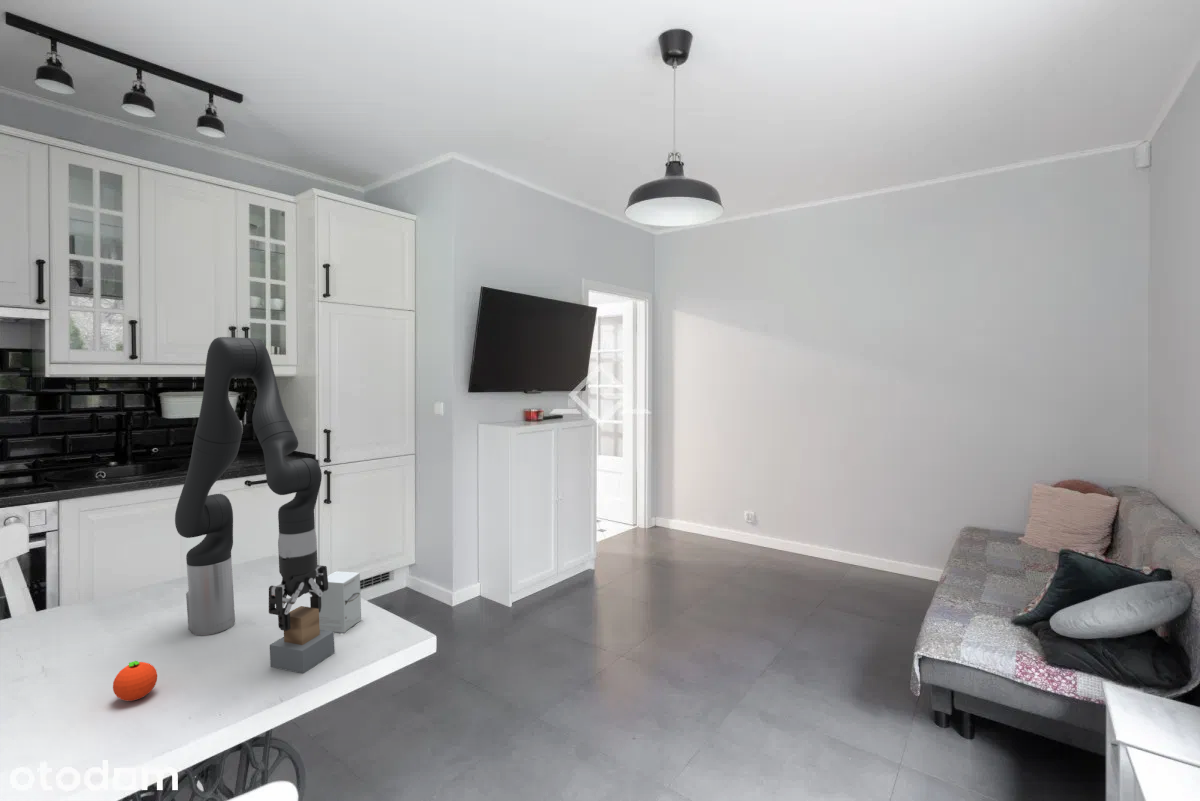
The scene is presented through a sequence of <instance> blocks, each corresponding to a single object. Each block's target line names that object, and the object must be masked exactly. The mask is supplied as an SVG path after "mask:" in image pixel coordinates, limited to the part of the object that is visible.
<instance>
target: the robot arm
mask: <svg viewBox="0 0 1200 801" xmlns="http://www.w3.org/2000/svg"><path fill="white" fill-rule="evenodd" d="M205 360H206V361H205V369H204V370H205V371H204V381H203V382H204V383H203V390H202V391H203V394H202V399H201V406H200V411H199V415H198V416H199V417H198V420H197V425H196V428H195V432H194V436H193V437H194V438H193V444H192V447H191V448H192V449H191V457H190V459H189V465H188V469H187V474H186V477H185V481H184V484H183V487H182V490H181V492H180V495H179V499H178V501H177V505H176V509H175V514H174V525H175V529H176V531H177V533H178V534H179V535H180V537H183V538H186V539H187V538H188V539H191V538H196V537H197V538H198V537H201V536H205V537H203V539H202V540H201V541H200V542H198V543H197V544H196V545H195V546H193V547H192V548H190V549H189V550H188V551H187V553H186V558H185V559H186V560H185V561H186V575H187V586H188V588H187V590H188V591H186V593H185V598H186V614H187V627H188V629H187V630H189V631H190V632H191V634H192V635H195V636H209V635H213V634H218V633H220V632H223V631H225V630H228V629H230V628H231V627H233V626H234V625H235V624H236V615H235V611H236V610H235V598H234V597H235V596H234V595H235V592H234V579H233V578H234V577H233V575H234V574H233V564H232V563H233V562H232V559H233V558H232V551H233V550H232V549H233V545H234V512H233V511H234V510H233V506H232V503H231V501H230V499H229V498H228V497H227V496H226V495H225V494H223V493H214V494H210V495H209V493H210V491H211V489H212V487H213V486H214V484H215V483H216V482H217V481H218V480H219V478H220V477H221V476H222V475H223V474H224V473H225V472H226V471H227V470H228V468H230V466H231V465H232V463H233V462H234V461H235V459H236V458H237V456H238V453H239V450H240V446H241V442H242V437H243V424H242V422H241V420H240V417H239V416H238V415H237V413H236V411H235V409H234V408H233V406H232V404H231V401H230V398H229V393H230V392H229V391H230V389H229V388H230V384H231V380H232V379H241V378H242V379H247V378H248V379H249V378H250V379H251V380H252V381H253V383H254V385H255V387H256V392H257V396H256V399H255V400H256V401H255V405H254V408H253V413H252V417H251V418H252V419H251V420H252V427H253V430H254V431H253V432H254V433H255V435H256V439H258V442H259V445H260V447H261V449H262V453H263V457H264V458H263V459H264V466H265V478H266V483H267V486H268V488H269V489H270V491H272V492H273V493H275V494H276V495H279V496H286V495H291V494H294V493H295V495H294V497H293V499H291V500H290V501H288V502H287V503H284V504H282V505H281V506H280V507H279V508H278V512H277V513H278V514H277V515H278V516H277V517H278V518H277V520H278V521H277V522H278V540H277V547H278V550H277V551H278V571H279V574H280V575H281V577H282V578H281V579H282V580H281V582H280V584H277V585H270V586H269V587H268V614H269V615H276V616H277V620H278V628H279V629H280V630H281V631H283V632H284V631H288V630H289V629H290V628H291V625H290V613H289V612H290V611H291V608H292V606H293V605H294V604H296V602H297V599H299V598H300V597H302V596H303V595H304V594H309V595H310V596H309V602H310V606H309V607H311V608H317V609H319V612H321V596H322V594H323V592H324V591H327V590H328V577H327V576H328V569H327V568H328V567H327V566H326V565H320V564H318V544H317V543H318V541H317V533H316V524H315V521H316V520H315V519H316V518H315V507H316V504H317V500H318V496H319V492H320V489H321V484H322V477H323V476H322V469H321V466H320V465H319V463H318V462H317V461H316V460H315V459H313V458H310V457H305V458H298V459H293V460H286V458H285V457H286V456H288V455H290V454H292V453H293V452H295V451H296V450H297V448H299V441H298V440H299V439H298V437H297V435H296V432H295V431H294V428H293V427H292V423H291V422H290V420H289V417H288V416H287V413H286V411H285V408H284V406H283V405H284V404H283V402H282V399H281V394H280V390H279V386H278V383H277V377H276V375H275V371H274V367H273V366H274V365H273V364H272V360H271V356H270V353H269V351H268V349H267V347H266V345H265V344H264V343H263V342H262V341H261V340H260V339H258V338H252V337H236V336H235V337H233V336H232V337H231V336H220V337H219V336H218V337H216V338H213V340H212V341H211V342H210V344H209V347H208V349H207V355H206V359H205ZM321 581H322V584H323V585H321ZM287 596H288V598H287ZM289 597H290V598H289Z"/></svg>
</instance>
